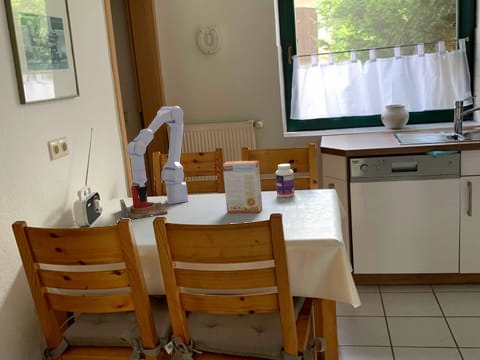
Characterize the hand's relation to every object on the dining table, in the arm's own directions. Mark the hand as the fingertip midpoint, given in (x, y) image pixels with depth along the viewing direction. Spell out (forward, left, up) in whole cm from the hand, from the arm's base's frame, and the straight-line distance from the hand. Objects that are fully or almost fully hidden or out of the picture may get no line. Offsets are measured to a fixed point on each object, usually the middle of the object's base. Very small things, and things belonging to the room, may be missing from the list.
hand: (142, 199), depth 221 cm
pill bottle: (-63, +11, -6) cm, 64 cm away
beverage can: (+1, 0, -5) cm, 5 cm away
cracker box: (-39, +24, -6) cm, 46 cm away
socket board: (0, 0, -6) cm, 6 cm away
